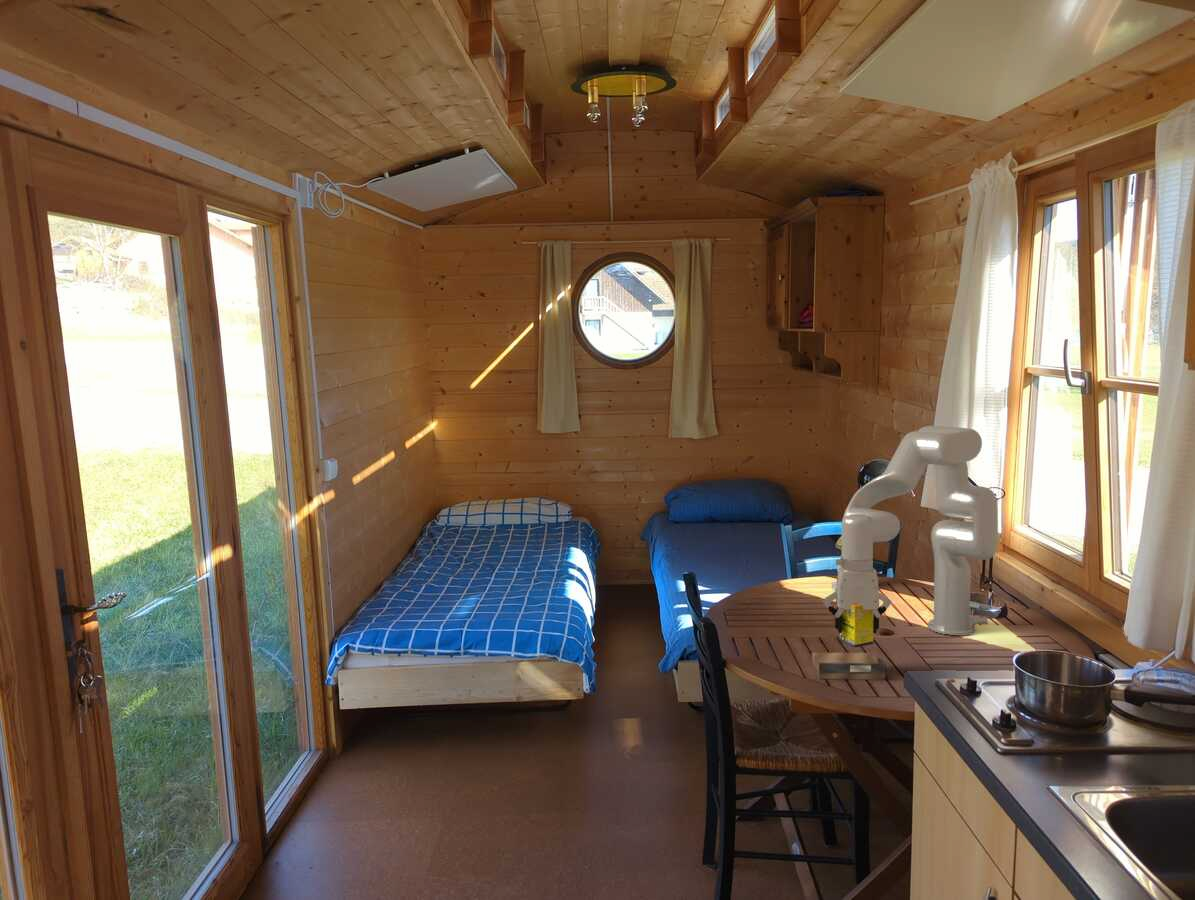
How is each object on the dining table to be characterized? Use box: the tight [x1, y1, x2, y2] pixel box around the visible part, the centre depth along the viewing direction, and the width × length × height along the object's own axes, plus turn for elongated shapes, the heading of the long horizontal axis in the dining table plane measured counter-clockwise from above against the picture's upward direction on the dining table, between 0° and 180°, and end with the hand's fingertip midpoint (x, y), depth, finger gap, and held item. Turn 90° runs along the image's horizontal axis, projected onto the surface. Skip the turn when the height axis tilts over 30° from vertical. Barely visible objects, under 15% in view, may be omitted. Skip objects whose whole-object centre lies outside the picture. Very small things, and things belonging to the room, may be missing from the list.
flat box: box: [811, 652, 886, 681], centre depth 223 cm, size 16×14×4 cm
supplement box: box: [839, 605, 874, 649], centre depth 219 cm, size 6×6×11 cm
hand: (856, 631), depth 219 cm, fingers closed on supplement box, 8 cm apart
